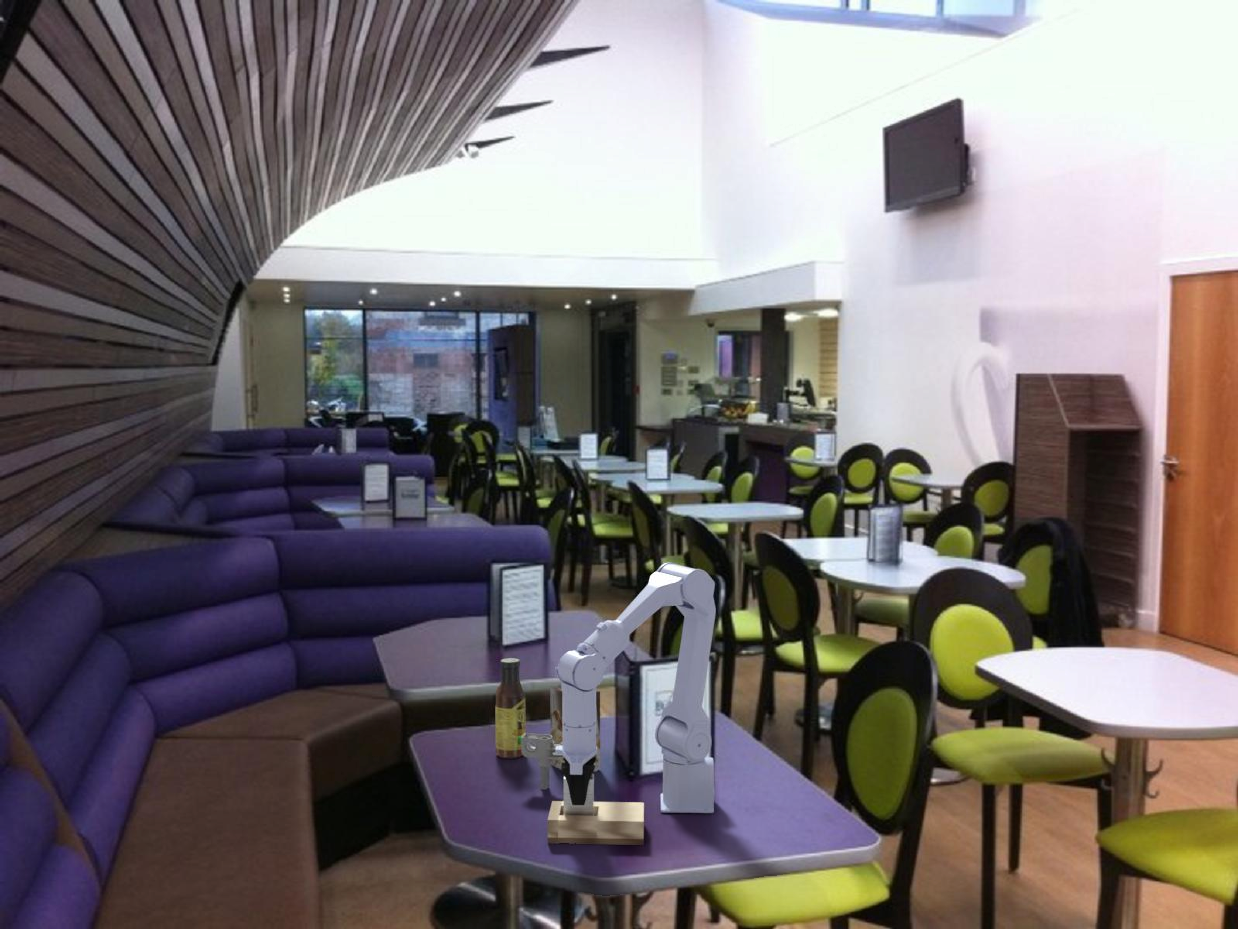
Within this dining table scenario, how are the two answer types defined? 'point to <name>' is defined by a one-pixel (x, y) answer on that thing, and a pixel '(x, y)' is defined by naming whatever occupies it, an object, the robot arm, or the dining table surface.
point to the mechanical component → (540, 752)
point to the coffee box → (557, 723)
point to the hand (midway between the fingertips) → (579, 801)
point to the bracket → (579, 809)
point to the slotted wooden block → (598, 824)
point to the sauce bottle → (509, 710)
